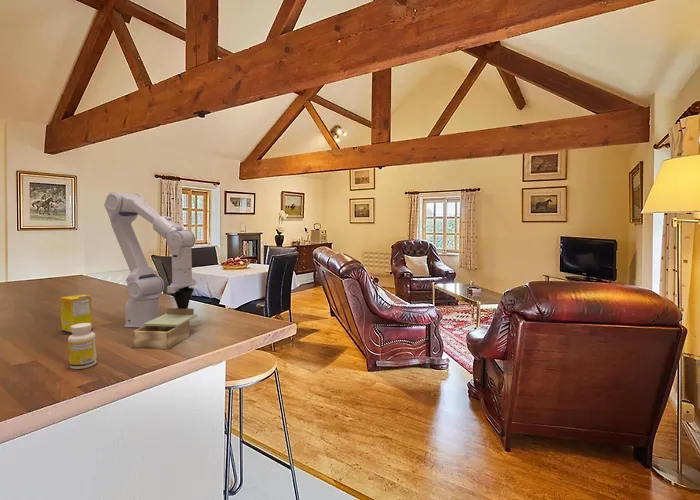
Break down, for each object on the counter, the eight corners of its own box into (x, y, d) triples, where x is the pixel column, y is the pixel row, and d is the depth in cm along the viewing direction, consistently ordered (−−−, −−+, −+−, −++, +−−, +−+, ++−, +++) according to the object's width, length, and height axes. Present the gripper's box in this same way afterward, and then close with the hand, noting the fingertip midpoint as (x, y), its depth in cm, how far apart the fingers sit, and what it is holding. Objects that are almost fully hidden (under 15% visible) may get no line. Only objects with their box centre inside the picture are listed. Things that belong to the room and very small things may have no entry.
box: (132, 347, 105) (132, 331, 105) (157, 334, 117) (156, 319, 117) (168, 348, 105) (168, 332, 104) (189, 335, 117) (189, 320, 116)
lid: (143, 325, 110) (143, 317, 110) (166, 315, 122) (165, 307, 122) (178, 326, 109) (177, 318, 109) (197, 316, 121) (196, 308, 121)
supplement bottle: (78, 361, 95) (76, 322, 94) (101, 360, 95) (99, 321, 95) (63, 369, 90) (61, 328, 89) (88, 369, 90) (86, 328, 89)
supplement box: (81, 327, 124) (80, 293, 123) (93, 330, 121) (91, 295, 120) (61, 332, 118) (59, 296, 117) (72, 335, 116) (70, 299, 115)
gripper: (183, 272, 114) (184, 317, 115) (204, 266, 128) (205, 306, 130) (159, 271, 114) (161, 317, 115) (183, 265, 129) (184, 306, 130)
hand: (182, 311), depth 122 cm, fingers closed
